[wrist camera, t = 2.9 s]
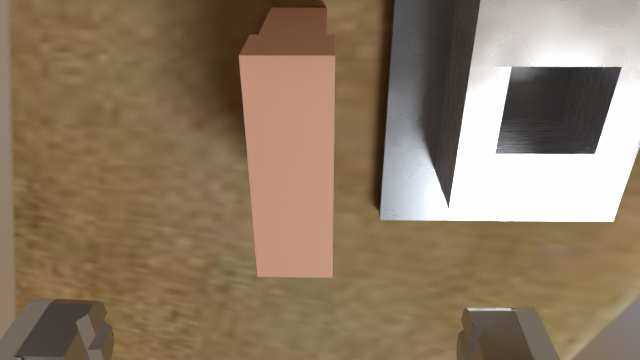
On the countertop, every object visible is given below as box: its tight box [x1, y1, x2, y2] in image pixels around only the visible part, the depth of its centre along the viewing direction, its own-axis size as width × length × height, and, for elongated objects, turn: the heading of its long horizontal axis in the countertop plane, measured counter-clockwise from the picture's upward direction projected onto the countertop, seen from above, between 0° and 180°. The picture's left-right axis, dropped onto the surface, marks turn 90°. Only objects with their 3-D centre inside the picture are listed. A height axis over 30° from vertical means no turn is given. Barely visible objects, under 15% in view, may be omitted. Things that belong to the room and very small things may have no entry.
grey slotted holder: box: [379, 0, 640, 222], centre depth 20 cm, size 22×12×4 cm, turn 0°
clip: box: [239, 8, 335, 277], centre depth 21 cm, size 9×3×7 cm, turn 0°
